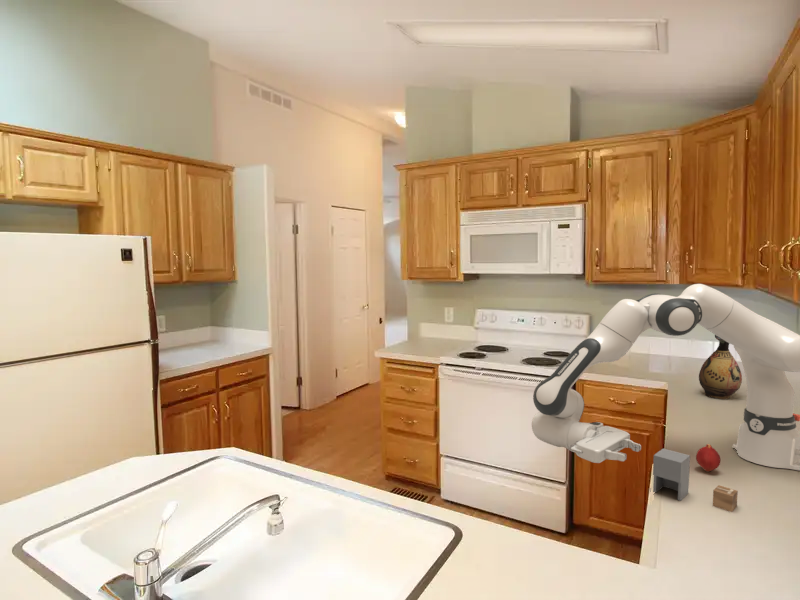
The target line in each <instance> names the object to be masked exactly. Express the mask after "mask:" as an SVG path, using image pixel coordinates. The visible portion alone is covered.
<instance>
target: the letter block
mask: <svg viewBox="0 0 800 600" xmlns="http://www.w3.org/2000/svg"><path fill="white" fill-rule="evenodd" d="M738 493H739V491H738V490H737V489H733V488H730V487H726V486H724V485H723V486H722V485H720V484H718V485H717V486H716V487H715V488H714V489H713V493H712V507H715V508H719V509H721V510H725V511H726V512H727V511H728V512H731V513H732V512H733V511H735V509H736V508H737V507H738Z"/></svg>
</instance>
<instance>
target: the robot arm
mask: <svg viewBox="0 0 800 600" xmlns="http://www.w3.org/2000/svg"><path fill="white" fill-rule="evenodd" d="M697 325H699V326H701V327H703V329H706V330H707V331H708V332H711V333H712V334H713V335H714V336H715V335H717V336H718V337H720V338H721V339H723V340H725V341H726V342H728V343H729V345H733V348H734V350H735V351H736V352H737V354H738V356H739V358H740V361H741V363H742V367H743V370H744V374H745V376H744V377H745V380H746V381H745V382H746V405H745V406H746V407H745V408H744V411H743V422H741V423H740V424H739V428H738V433H737V434H738V435H737V441H736V443H733V444H732V448H733V447H734V448H735V449H736V450H737V451H736V450H735V449H734V450H735V451H736V454H737V453H738V454H737V456H739V457H740V458H742V459H743V460H746V461H747V462H752V463H754V464H757V465H761V466H766V467H770V468H776V469H777V468H778V469H790V470H794V471H800V430H799V429H798V428H797V422H800V413H799V414H797V413H794V402H795V389H794V387H793V385H792V384H791V382H790V381H789V379H788V378H787V375H786V372H788V373H789V372H790V373H791V372H792V373H800V334H798V333H797V332H795V331H792V330H791V329H789V328H787V327H785V326H783V325H781V324H779V323H777V322H775V321H773V320H771V319H768V318H767V317H764V316H762V315H760V314H758V313H756V312H755V311H753V310H751V309H750V308H748V307H747V306H744V305H743V303H742V304H741V303H740V302H739V301H737V300H736V299H734V298H732V297H730V295H727V294H725V293H723V292H722V291H720V290H718V289H716V288H713V287H711V286H709V285H707V284H703V283H694V284H691V285H689V286H687V287H686V288H685V289H684V290H683V291H682V292H681V293H680V295H678V296H674V295H669V294H661V293H651V294H647V295H645V296H643V297H641V298H639V299H637V300H635V299H631V298H623V299H621V300H619V301H617V303H616V304H614V305H613V306H612V307H611V308H610V310H609V311H608V312H607V313H605V315H604V316H603V318H602V319H601V320H600V321H599V323H598V325H597V326H596V327H595V328H594V329H593V331H592V332H591V333H590V334H589V335H588V336H587V337H586V338H585V339H584V340H583V341H582V342H580V343H579V344H577V346H576V347H575V348H574V349H573V350H572V351H571V352H570V353H569V355H568V356H567V357H566V358H565V359H564V360H563V361H562V362H561V364H560V365H559V366H558V367H557V368H556V370H554V372H553V373H552V374H550V376H548V377H546V378H545V379H543V380H541V381H540V382H539V383H538V384H537V385H536V387H535V389H534V391H533V397H532V399H533V404H534V406H535V408H536V410H537V411H538V412H537V413H535V414H534V415H533V417H532V420H531V430H532V433H533V435H534V437H536V438H537V439H538V440H540V441H542V442H544V443H546V444H548V445H551V446H554V447H557V448H565V449H567V450H568V451H571V452H573V453H574V454H575V455H576V456H577V457H579V458H581V459H583V460H585V461H588V462H591V463H595V464H600V463H602V462H604V461H605V460H612V461H619V462H625V461H626V460H627V457H628V456H627V453H624V452H621V450H623V449H626V448H627V449H628V448H629V449H631V451H633V452H637V453H638V452H640V451H641V450H642V445H641V444H640V443H637V442H634V441H633V440H631V434H630V433H629V432H627V431H625V430H622V429H620V428H616V427H613V426H609V425H604V423H603V422H599V421H594V422H581V421H580V420H581V419H582V416H583V413H584V410H585V400H584V398H583V396H582V395H581V393H580V392H578V391H577V390H575V389H573V388H572V387H573V386H574V384H575V383H576V382H577V381H578V380H579V379H580V377H582V376H583V374H584V373H585V372H586V371H587V370H588V369H589V368H591V367H593V366H594V365H598V364H601V363H612V362H613V363H614V362H616V361H619V360H620V359H621V358H623V356H625V355H626V354H627V353H628V352H629V351H630V349H632V346H633V345H634V344H635V342H636V341H637V339H638V338H639V336H640V335H642V334H643V332H645V331H647V330H649V329H652V330H653V331H656V332H658V333H662V334H665V335H668V336H672V337H673V336H675V337H676V336H677V337H678V336H683V335H687V334H688V333H690V332H691V331H693V330H694V329H695V327H696V326H697Z"/></svg>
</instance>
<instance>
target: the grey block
mask: <svg viewBox="0 0 800 600" xmlns="http://www.w3.org/2000/svg"><path fill="white" fill-rule="evenodd" d="M652 461H653V464H652V475H653V482H652V483H653V486H652V489H653V490H652V491H653V493H656V494H657V492H659V491H660V490H661V489H662V488H663V487H664V488H667V489H671V490H673V491H677V501H678V502H681V501H682V500H683V499H684V498H685V497H686V496H687V495H688V494H689V487H690V486H689V485H690V482H689V481H690V467H691V465H690V463H691V455H690V454H685V453H682V452H678V451H674V450H670V449H667V448H662V449H660V450H659V451H657V452H656V453H655V454H653V460H652Z"/></svg>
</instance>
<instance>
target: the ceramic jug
mask: <svg viewBox="0 0 800 600" xmlns="http://www.w3.org/2000/svg"><path fill="white" fill-rule="evenodd" d="M714 338H715V339H716V340H717V341H719V342H718V346H717V348H716V350H714V351H713V352H712V353H711V354H710V355H709V356H708V357H707V358H706V360H705V361H704V362H703V363H702V365H701V367H700V369H699V374H698V381H699V384H700V386H701V387H702V389H703V391H704V396H706V397H709V398H711V399H712V398H713V399H719V400H729V399H730V398H731V397H732V396H733V395H734V394H735V393H736V392H737V391H739V390H740V387H741V386H742V382H743V377H742V374H743V373H742V370H741V368H740V366H739V364H738V362H737V360H736V359H735V358H734V356H733V355H732V353H731V352H730V349H729V347H730V343H728V342H726V341H725V340H723V339H721V338H720V337H718V336H717V335H715V334H714Z"/></svg>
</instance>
